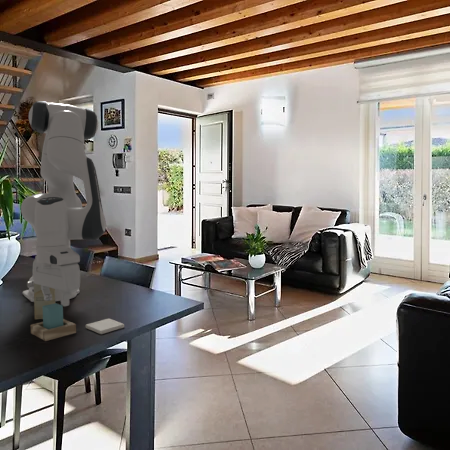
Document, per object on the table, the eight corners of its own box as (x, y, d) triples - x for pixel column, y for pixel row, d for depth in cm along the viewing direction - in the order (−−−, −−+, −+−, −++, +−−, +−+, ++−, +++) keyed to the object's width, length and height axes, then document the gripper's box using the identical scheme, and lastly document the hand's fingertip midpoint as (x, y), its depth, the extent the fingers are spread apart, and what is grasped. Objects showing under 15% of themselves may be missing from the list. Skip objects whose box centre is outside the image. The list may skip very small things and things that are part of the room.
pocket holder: (30, 333, 124) (30, 324, 124) (60, 325, 131) (60, 317, 131) (45, 341, 118) (45, 332, 118) (76, 332, 125) (75, 324, 125)
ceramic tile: (85, 327, 129) (85, 324, 129) (108, 321, 135) (108, 318, 135) (100, 334, 124) (100, 330, 124) (124, 327, 130) (124, 324, 129)
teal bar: (43, 333, 124) (42, 306, 124) (56, 329, 127) (55, 303, 127) (50, 336, 122) (49, 308, 121) (63, 332, 125) (62, 305, 124)
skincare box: (34, 320, 136) (32, 282, 135) (35, 315, 140) (34, 279, 139) (55, 318, 138) (54, 280, 137) (56, 314, 142) (55, 277, 141)
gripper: (25, 253, 127) (28, 299, 128) (61, 259, 113) (64, 311, 115) (45, 250, 131) (48, 295, 133) (83, 256, 118) (86, 306, 119)
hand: (56, 302), depth 124 cm, fingers open, 8 cm apart
